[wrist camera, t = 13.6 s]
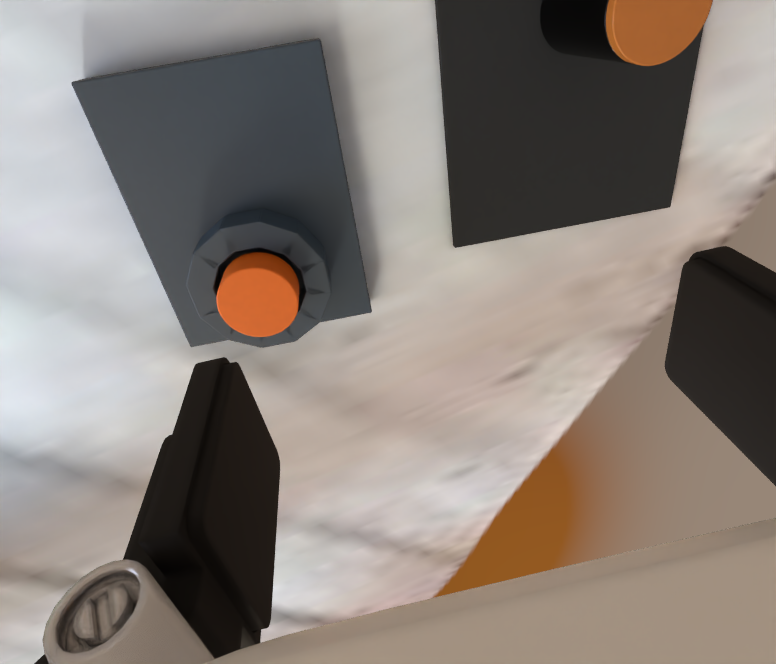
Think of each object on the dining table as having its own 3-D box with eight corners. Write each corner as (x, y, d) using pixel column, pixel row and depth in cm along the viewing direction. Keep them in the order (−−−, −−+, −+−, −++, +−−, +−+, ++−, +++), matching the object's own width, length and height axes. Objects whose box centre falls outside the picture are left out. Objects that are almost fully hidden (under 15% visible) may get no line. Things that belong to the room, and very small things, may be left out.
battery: (540, -34, 20) (619, -51, 15) (621, -48, 20) (726, -70, 15) (538, 60, 22) (607, 74, 17) (612, 47, 22) (703, 56, 17)
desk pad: (409, -336, 16) (412, -344, 15) (772, -390, 16) (781, -398, 16) (453, 245, 27) (454, 248, 26) (666, 204, 27) (670, 207, 27)
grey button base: (81, 79, 20) (49, 88, 18) (319, 37, 21) (321, 40, 18) (194, 335, 27) (183, 367, 25) (370, 302, 28) (375, 330, 25)
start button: (211, 259, 22) (204, 276, 21) (288, 244, 23) (287, 260, 21) (235, 324, 24) (230, 344, 23) (307, 310, 25) (306, 329, 23)
